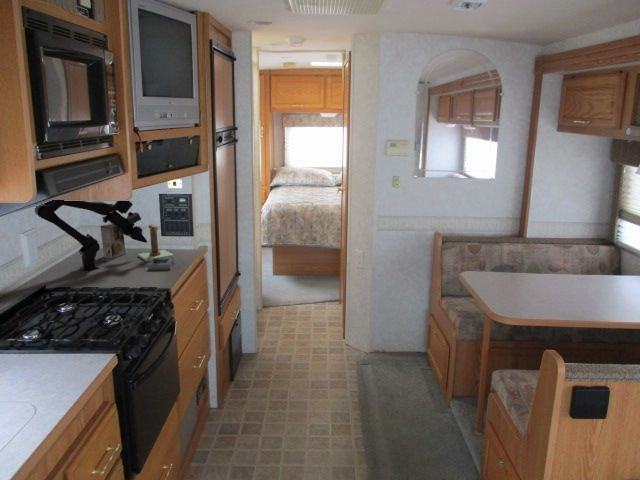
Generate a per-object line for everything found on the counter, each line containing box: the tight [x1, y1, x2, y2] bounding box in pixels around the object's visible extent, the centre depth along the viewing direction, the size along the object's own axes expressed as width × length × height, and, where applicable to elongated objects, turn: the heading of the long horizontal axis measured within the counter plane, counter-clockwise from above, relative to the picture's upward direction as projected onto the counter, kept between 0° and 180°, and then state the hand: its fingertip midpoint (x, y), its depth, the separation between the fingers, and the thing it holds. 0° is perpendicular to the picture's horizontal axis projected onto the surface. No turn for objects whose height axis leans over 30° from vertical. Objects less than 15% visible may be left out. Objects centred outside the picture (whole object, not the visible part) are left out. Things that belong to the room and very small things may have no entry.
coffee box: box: [99, 222, 127, 259], centre depth 272 cm, size 9×6×16 cm
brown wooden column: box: [148, 223, 160, 256], centre depth 269 cm, size 5×8×15 cm, turn 38°
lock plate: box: [147, 256, 176, 271], centre depth 255 cm, size 10×12×2 cm
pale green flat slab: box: [137, 249, 175, 263], centre depth 271 cm, size 14×12×1 cm
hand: (143, 240), depth 265 cm, fingers open, 9 cm apart
